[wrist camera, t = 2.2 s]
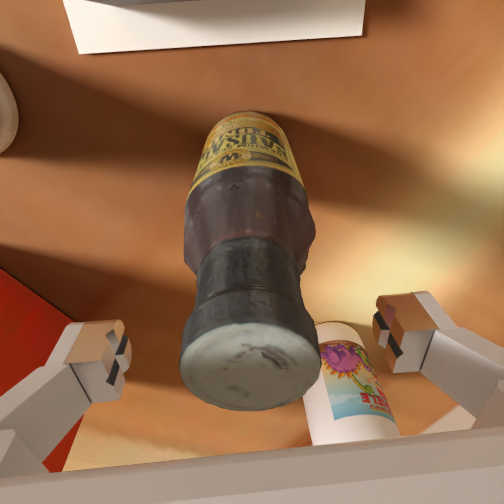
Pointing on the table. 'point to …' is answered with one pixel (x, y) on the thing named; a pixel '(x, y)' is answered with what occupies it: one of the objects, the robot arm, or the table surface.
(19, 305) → the tall red box
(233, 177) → the sauce bottle
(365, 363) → the milk bottle
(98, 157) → the table surface
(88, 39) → the mount collar
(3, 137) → the stacking toy
